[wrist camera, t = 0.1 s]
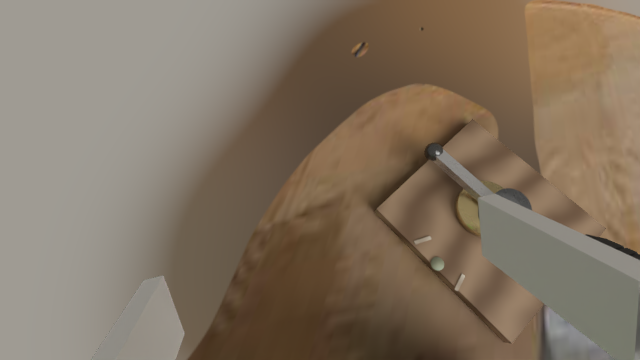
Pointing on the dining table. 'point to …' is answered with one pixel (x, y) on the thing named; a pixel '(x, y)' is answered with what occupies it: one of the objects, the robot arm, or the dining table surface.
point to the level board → (464, 247)
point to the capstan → (470, 189)
